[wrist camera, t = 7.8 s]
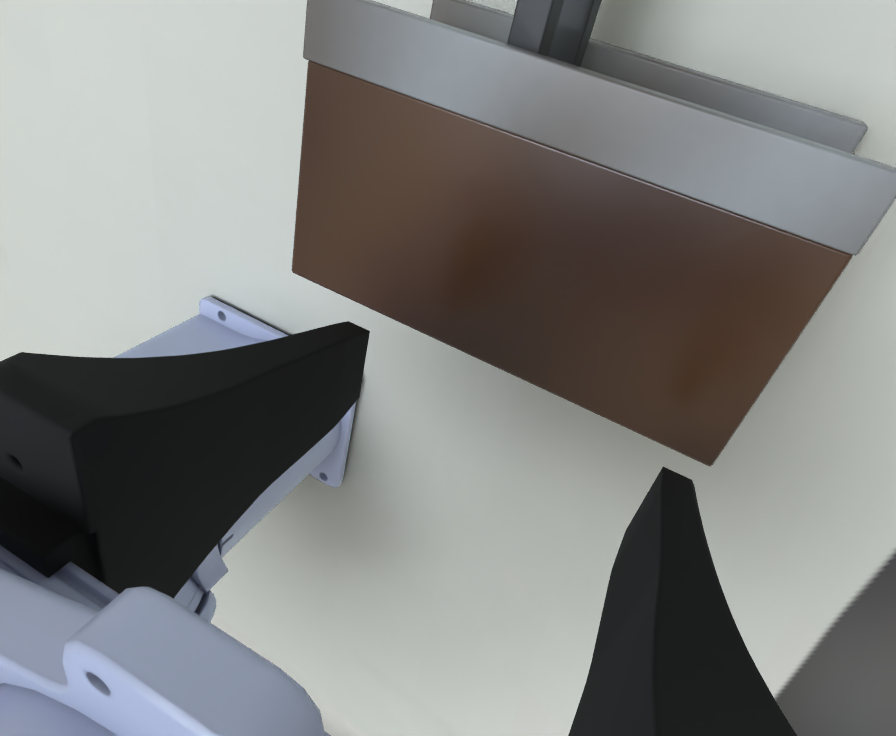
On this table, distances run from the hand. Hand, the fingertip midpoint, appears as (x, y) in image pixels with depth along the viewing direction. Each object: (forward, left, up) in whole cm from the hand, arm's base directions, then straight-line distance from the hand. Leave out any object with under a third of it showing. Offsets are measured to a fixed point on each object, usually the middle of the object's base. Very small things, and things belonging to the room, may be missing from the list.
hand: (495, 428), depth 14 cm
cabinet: (-1, +2, -10) cm, 10 cm away
